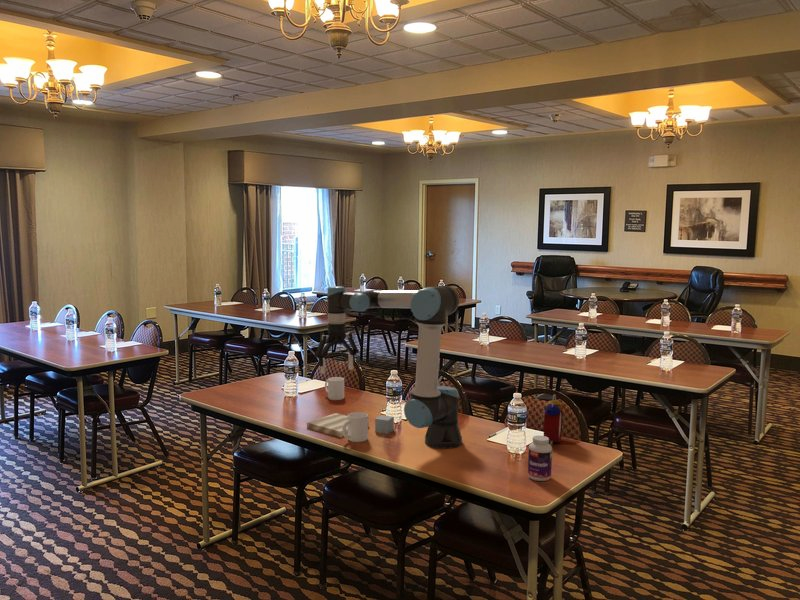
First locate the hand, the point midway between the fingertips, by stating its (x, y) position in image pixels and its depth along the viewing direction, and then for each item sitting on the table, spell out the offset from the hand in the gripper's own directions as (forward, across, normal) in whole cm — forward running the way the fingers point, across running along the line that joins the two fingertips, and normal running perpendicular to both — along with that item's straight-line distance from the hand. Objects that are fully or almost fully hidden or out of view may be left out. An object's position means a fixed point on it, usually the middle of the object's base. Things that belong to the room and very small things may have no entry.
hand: (337, 371), depth 272 cm
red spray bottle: (+26, -65, +62) cm, 94 cm away
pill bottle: (+26, -33, +87) cm, 96 cm away
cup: (+25, -23, -46) cm, 58 cm away
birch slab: (+26, -1, -2) cm, 26 cm away
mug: (+26, +2, +17) cm, 31 cm away
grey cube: (+26, -15, +14) cm, 33 cm away
